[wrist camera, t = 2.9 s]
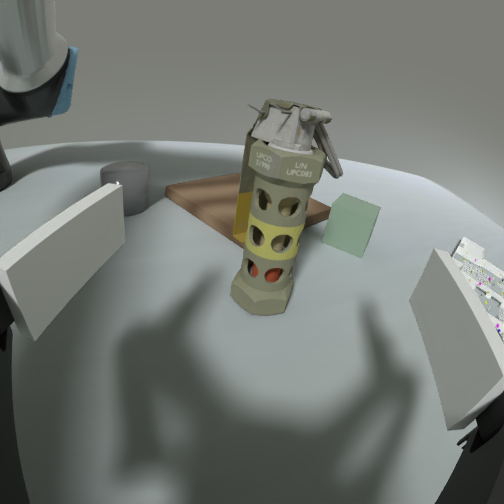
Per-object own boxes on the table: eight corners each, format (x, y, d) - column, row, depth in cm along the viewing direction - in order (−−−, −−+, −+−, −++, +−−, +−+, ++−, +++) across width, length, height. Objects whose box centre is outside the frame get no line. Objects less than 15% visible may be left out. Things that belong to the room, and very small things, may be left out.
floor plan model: (420, 299, 28) (428, 286, 27) (457, 243, 43) (461, 234, 42) (521, 370, 19) (531, 358, 18) (521, 285, 34) (526, 276, 33)
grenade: (256, 329, 21) (302, 107, 13) (203, 280, 25) (222, 92, 17) (317, 294, 25) (367, 119, 18) (265, 257, 29) (295, 100, 22)
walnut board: (165, 196, 39) (165, 185, 38) (249, 179, 49) (251, 171, 48) (246, 250, 30) (248, 237, 29) (329, 218, 40) (332, 208, 40)
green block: (321, 242, 34) (332, 203, 31) (333, 228, 38) (343, 193, 35) (361, 259, 32) (375, 219, 30) (368, 242, 36) (380, 207, 33)
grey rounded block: (96, 203, 35) (94, 167, 32) (136, 194, 38) (136, 159, 36) (111, 221, 31) (109, 180, 29) (156, 209, 35) (157, 170, 33)
